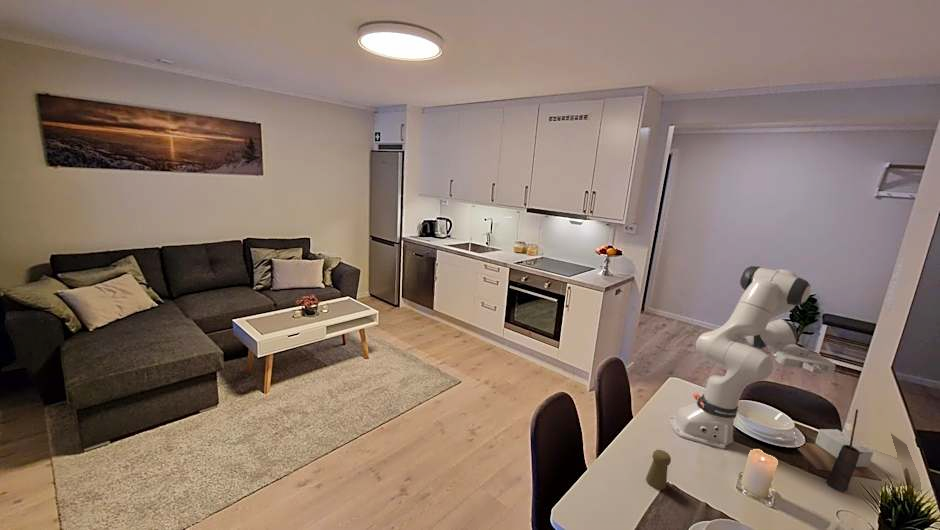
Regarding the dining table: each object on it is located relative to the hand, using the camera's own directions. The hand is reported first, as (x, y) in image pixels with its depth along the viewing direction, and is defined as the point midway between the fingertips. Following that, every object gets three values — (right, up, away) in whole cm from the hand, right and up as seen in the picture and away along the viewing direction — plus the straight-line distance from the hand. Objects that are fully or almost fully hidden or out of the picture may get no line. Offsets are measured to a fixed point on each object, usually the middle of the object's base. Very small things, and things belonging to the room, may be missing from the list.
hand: (816, 370), depth 158 cm
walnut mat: (-4, -30, -12) cm, 32 cm away
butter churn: (-15, -32, -26) cm, 44 cm away
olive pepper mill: (-78, -28, -30) cm, 88 cm away
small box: (0, -24, -4) cm, 25 cm away
